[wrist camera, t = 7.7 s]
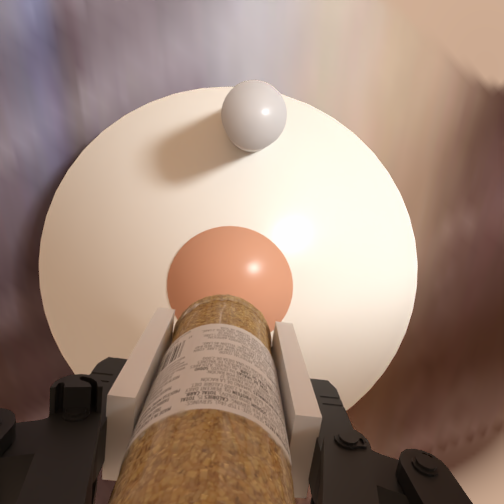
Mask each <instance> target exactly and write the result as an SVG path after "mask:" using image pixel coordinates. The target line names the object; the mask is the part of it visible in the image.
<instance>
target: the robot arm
mask: <svg viewBox="0 0 504 504" xmlns="http://www.w3.org/2000/svg"><path fill="white" fill-rule="evenodd" d="M174 315H175V309H168V308H159V307H158V308H157V309H156V311H155V313H154V315H153V316H152V318H151V320H150V322H149V323H148V325H147V327H146V328H145V330H144V332H143V334H142V335H141V337H140V339H139V341H138V342H137V344H136V346H135V348H134V349H133V351H132V353H131V355H130V356H129V358H128V359H122V358H113V357H108V358H106V359H104V360H102V361H101V362H99V363H97V365H96V366H95V368H94V369H93V370H92V372H91V373H90V375H87V374H76V375H70V376H66V377H63V378H61V379H59V380H57V381H56V382H54V383H53V385H52V386H51V387H50V415H49V417H48V418H46V419H43V420H37V421H30V422H20V423H16V419H15V414H14V413H13V412H11V411H10V410H7V409H3V408H0V504H95V497H96V491H97V476H98V474H99V472H100V470H101V468H102V465H103V470H102V479H103V480H114V481H117V478H118V476H119V470H120V466H121V462H122V459H123V457H124V454H125V451H126V449H127V446H128V444H129V441H130V439H131V436H132V434H133V431H134V429H135V426H136V424H137V421H138V419H139V416H140V414H141V411H142V409H143V406H144V404H145V401H146V399H147V396H148V394H149V391H150V389H151V386H152V384H153V381H154V379H155V376H156V374H157V372H158V369H159V367H160V364H161V361H162V359H163V357H164V355H165V353H166V351H167V350H168V348H169V347H170V345H171V342H172V335H173V325H174ZM271 353H272V358H273V361H274V364H275V367H276V372H277V378H278V383H279V389H280V395H281V401H282V406H283V412H284V418H285V425H286V432H287V437H288V444H289V450H290V456H291V464H292V467H291V474H292V479H293V488H294V497H295V498H306V496H307V491H308V486H309V485H310V489H311V494H312V498H311V503H310V504H473V503H472V502H471V501H470V499H469V498H468V496H467V495H466V493H465V492H464V491H463V489H462V488H461V486H460V485H459V483H458V482H457V480H456V479H455V477H454V476H453V475H452V473H451V472H450V471H449V469H448V468H447V467H446V465H444V463H443V462H442V461H441V460H439V459H438V458H436V457H435V456H433V455H432V454H430V453H427V452H425V451H422V450H417V449H406V450H404V451H403V452H401V455H400V458H399V460H396V459H393V458H390V457H387V456H384V455H381V454H379V453H376V452H374V451H373V450H371V446H370V444H369V442H368V440H367V439H366V438H365V437H364V436H363V435H362V434H360V433H359V432H357V431H356V430H354V429H353V427H352V425H351V422H350V420H349V418H348V415H347V413H346V410H345V408H344V407H343V403H342V401H341V400H340V396H339V394H338V391H337V389H336V388H335V387H334V386H333V385H332V384H331V383H330V382H329V381H328V380H320V379H311V378H310V377H309V374H308V371H307V368H306V365H305V362H304V359H303V355H302V352H301V349H300V346H299V343H298V340H297V336H296V333H295V330H294V327H293V324H292V323H285V322H277V321H275V327H274V334H273V340H272V346H271Z"/></svg>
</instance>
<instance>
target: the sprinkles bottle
mask: <svg viewBox="0 0 504 504" xmlns="http://www.w3.org/2000/svg"><path fill="white" fill-rule="evenodd" d="M271 344H272V338H271V333H270V329H269V326H268V324H267V321H266V320H265V318H264V316H263V314H262V312H260V311H259V310H258V309H257V308H256V307H254V306H253V305H252V304H251V303H249V302H247V301H246V300H244V299H242V298H239V297H236V296H232V295H229V294H226V295H213V296H208V297H204V298H203V299H200V300H198V301H196V302H194V303H192V304H191V305H190V306H189V307H188V308H187V309H186V310H185V311H184V312H183V313H182V315H181V316H180V318H179V319H178V320H177V322H176V324H175V327H174V331H173V335H172V342H171V345H170V347H169V348H168V350H167V351H166V353H165V355H164V357H163V359H162V361H161V364H160V367H159V369H158V372H157V374H156V376H155V379H154V381H153V384H152V386H151V389H150V391H149V394H148V396H147V399H146V401H145V404H144V406H143V409H142V411H141V414H140V416H139V419H138V421H137V424H136V426H135V429H134V431H133V434H132V436H131V439H130V441H129V444H128V446H127V449H126V451H125V454H124V457H123V459H122V462H121V466H120V470H119V476H118V478H117V481H116V483H115V486H114V488H113V491H112V493H111V496H110V499H109V502H108V504H296V503H295V499H294V488H293V479H292V474H291V467H292V464H291V456H290V450H289V444H288V437H287V432H286V425H285V418H284V412H283V406H282V401H281V395H280V389H279V383H278V378H277V372H276V367H275V364H274V361H273V358H272V353H271Z"/></svg>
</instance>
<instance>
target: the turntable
mask: <svg viewBox="0 0 504 504" xmlns="http://www.w3.org/2000/svg"><path fill="white" fill-rule="evenodd" d="M417 265H418V264H417V254H416V244H415V238H414V233H413V229H412V225H411V221H410V217H409V214H408V212H407V209H406V207H405V204H404V202H403V199H402V197H401V194H400V192H399V190H398V189H397V187H396V185H395V183H394V182H393V180H392V178H391V176H390V174H389V173H388V171H387V170H386V169H385V167H384V166H383V165H382V163H381V162H380V161H379V159H378V158H377V157H376V155H375V154H374V153H373V152H372V151H371V150H370V149H369V148H368V147H367V146H366V145H365V144H364V143H363V142H362V141H361V140H360V139H359V138H358V137H357V136H356V135H355V134H354V133H353V132H352V131H350V130H349V129H348V128H346V127H345V126H343V125H342V124H341V123H339V122H338V121H337V120H335V119H334V118H333V117H331V116H329V115H327V114H325V113H324V112H322V111H320V110H318V109H316V108H314V107H313V106H311V105H309V104H306V103H304V102H301V101H298V100H296V99H293V98H290V97H288V96H285V95H282V94H280V93H279V91H278V90H277V89H276V88H275V87H273V86H272V85H270V84H269V83H267V82H264V81H260V80H248V81H244V82H241V83H239V84H238V85H236V86H235V87H215V88H201V89H196V90H191V91H186V92H181V93H176V94H172V95H170V96H167V97H164V98H161V99H158V100H155V101H153V102H150V103H148V104H146V105H144V106H142V107H140V108H138V109H136V110H134V111H132V112H130V113H128V114H127V115H125V116H123V117H122V118H120V119H119V120H118V121H116V122H115V123H114V124H112V125H111V126H109V127H108V128H107V129H105V130H104V131H103V132H102V133H101V134H99V135H98V136H97V137H96V138H95V139H94V140H93V141H92V142H91V143H90V144H89V145H88V146H87V147H86V148H85V149H84V150H83V151H82V153H81V154H80V155H79V157H78V158H77V159H76V160H75V162H74V163H73V164H72V166H71V167H70V168H69V169H68V171H67V173H66V175H65V176H64V178H63V180H62V182H61V183H60V185H59V187H58V189H57V190H56V192H55V195H54V197H53V200H52V203H51V205H50V208H49V210H48V213H47V215H46V219H45V224H44V228H43V232H42V237H41V243H40V254H39V281H40V291H41V297H42V302H43V307H44V312H45V315H46V318H47V321H48V324H49V327H50V330H51V333H52V335H53V337H54V339H55V341H56V343H57V345H58V347H59V350H60V352H61V354H62V355H63V357H64V358H65V360H66V361H67V363H68V365H69V366H70V368H71V369H72V371H73V372H74V374H75V375H76V374H87V375H90V373H91V372H92V370H93V369H94V368H95V366H96V365H97V363H99V362H101V361H102V360H104V359H106V358H108V357H113V358H122V359H128V358H129V356H130V355H131V353H132V351H133V349H134V348H135V346H136V344H137V342H138V341H139V339H140V337H141V335H142V334H143V332H144V330H145V328H146V327H147V325H148V323H149V322H150V320H151V318H152V316H153V315H154V313H155V311H156V309H157V308H158V307H159V308H168V309H175V315H174V325H173V331H174V327H175V324H176V322H177V320H178V319H179V318H180V316H181V315H182V313H183V312H184V311H185V310H186V309H187V308H188V307H189V306H190V305H191V304H192V303H194V302H196V301H198V300H200V299H203V298H204V297H208V296H213V295H226V294H229V295H232V296H236V297H239V298H242V299H244V300H246V301H247V302H249V303H251V304H252V305H253V306H254V307H256V308H257V309H258V310H259V311H260V312H262V314H263V316H264V318H265V320H266V321H267V324H268V326H269V329H270V333H271V338H272V340H273V334H274V327H275V321H277V322H285V323H292V324H293V327H294V330H295V333H296V336H297V340H298V343H299V346H300V349H301V352H302V355H303V359H304V362H305V365H306V368H307V371H308V374H309V377H310V378H311V379H320V380H328V381H329V382H330V383H331V384H332V385H333V386H334V387H335V388H336V389H337V391H338V394H339V396H340V400H341V401H342V403H343V407H344V408H345V410H348V409H349V408H350V407H352V406H353V405H354V404H355V403H356V402H357V401H359V400H360V399H361V398H362V397H363V396H364V395H365V394H366V393H367V392H368V391H369V390H370V389H371V388H372V387H373V385H374V384H375V383H376V382H377V380H378V379H379V378H380V377H381V376H382V374H383V373H384V372H385V370H386V369H387V367H388V365H389V364H390V362H391V361H392V359H393V358H394V356H395V354H396V353H397V350H398V348H399V346H400V344H401V342H402V340H403V338H404V335H405V333H406V330H407V327H408V324H409V321H410V318H411V314H412V311H413V306H414V300H415V294H416V289H417ZM271 346H272V344H271Z"/></svg>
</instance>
